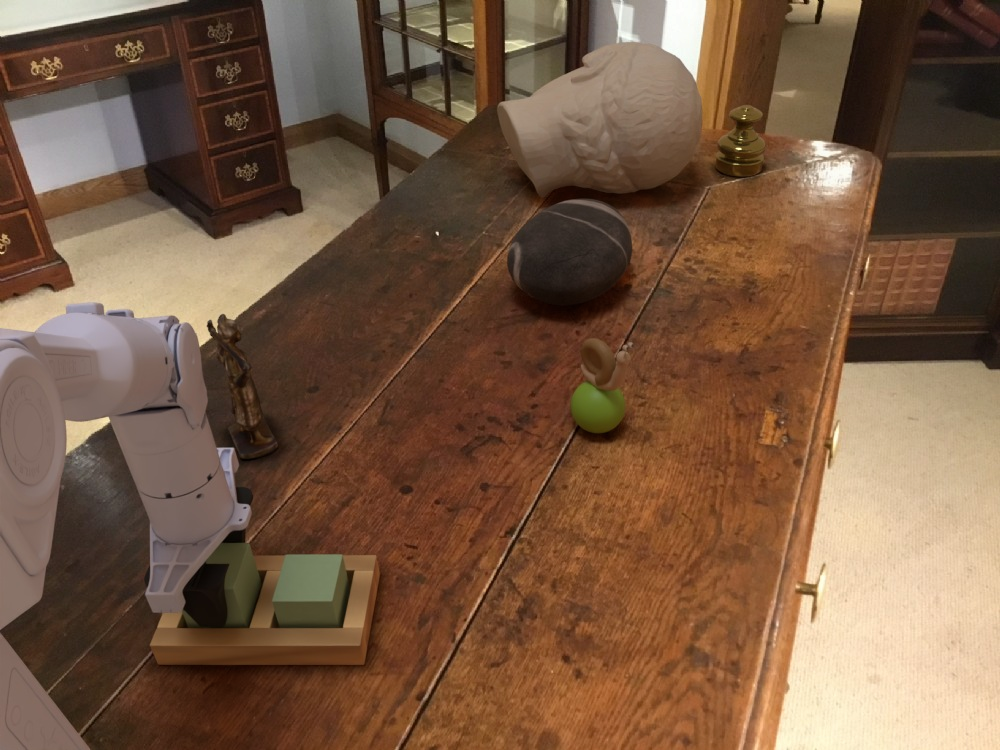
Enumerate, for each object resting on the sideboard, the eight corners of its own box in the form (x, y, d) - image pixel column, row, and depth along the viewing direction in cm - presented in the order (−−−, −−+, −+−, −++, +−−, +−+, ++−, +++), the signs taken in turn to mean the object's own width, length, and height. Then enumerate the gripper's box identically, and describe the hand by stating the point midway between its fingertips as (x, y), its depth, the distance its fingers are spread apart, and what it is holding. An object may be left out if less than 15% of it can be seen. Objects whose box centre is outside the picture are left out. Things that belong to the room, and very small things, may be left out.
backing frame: (364, 665, 65) (360, 645, 63) (158, 665, 66) (149, 645, 64) (380, 574, 72) (376, 554, 70) (193, 575, 73) (186, 555, 71)
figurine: (284, 460, 84) (253, 333, 75) (246, 473, 83) (209, 346, 74) (264, 418, 89) (232, 295, 80) (227, 430, 88) (191, 307, 79)
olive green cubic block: (247, 630, 66) (233, 589, 63) (189, 631, 66) (172, 589, 63) (262, 583, 70) (249, 542, 67) (206, 583, 70) (191, 542, 67)
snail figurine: (603, 457, 83) (608, 356, 76) (559, 425, 87) (560, 326, 80) (642, 433, 85) (651, 334, 78) (597, 403, 89) (602, 306, 82)
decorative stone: (545, 242, 118) (545, 174, 112) (647, 259, 113) (652, 189, 108) (489, 312, 104) (486, 239, 98) (602, 335, 99) (606, 260, 93)
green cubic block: (341, 642, 67) (332, 601, 64) (283, 642, 67) (271, 601, 64) (351, 594, 70) (342, 554, 67) (296, 594, 71) (285, 554, 68)
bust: (506, 163, 144) (685, 140, 142) (509, 233, 126) (714, 208, 123) (489, 39, 131) (685, 11, 129) (490, 97, 113) (718, 65, 111)
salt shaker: (772, 171, 135) (782, 108, 129) (736, 181, 132) (745, 118, 126) (740, 155, 140) (748, 95, 134) (704, 166, 137) (712, 104, 131)
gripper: (203, 549, 53) (248, 677, 61) (260, 403, 65) (292, 527, 73) (92, 549, 53) (152, 676, 62) (169, 404, 65) (211, 527, 73)
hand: (222, 595), depth 67 cm, fingers closed on olive green cubic block, 4 cm apart
